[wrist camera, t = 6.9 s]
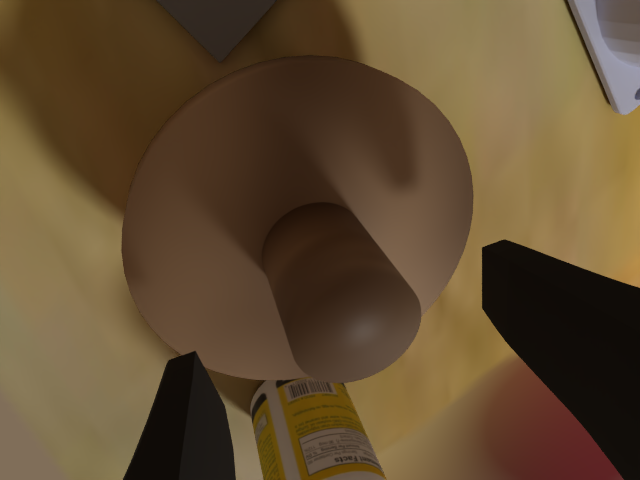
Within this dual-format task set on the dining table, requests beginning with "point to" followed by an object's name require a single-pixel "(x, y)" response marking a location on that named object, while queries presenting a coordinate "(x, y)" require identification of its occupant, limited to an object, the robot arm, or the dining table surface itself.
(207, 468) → the robot arm
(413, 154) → the lid
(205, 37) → the mat
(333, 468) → the supplement bottle
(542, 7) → the dining table surface
